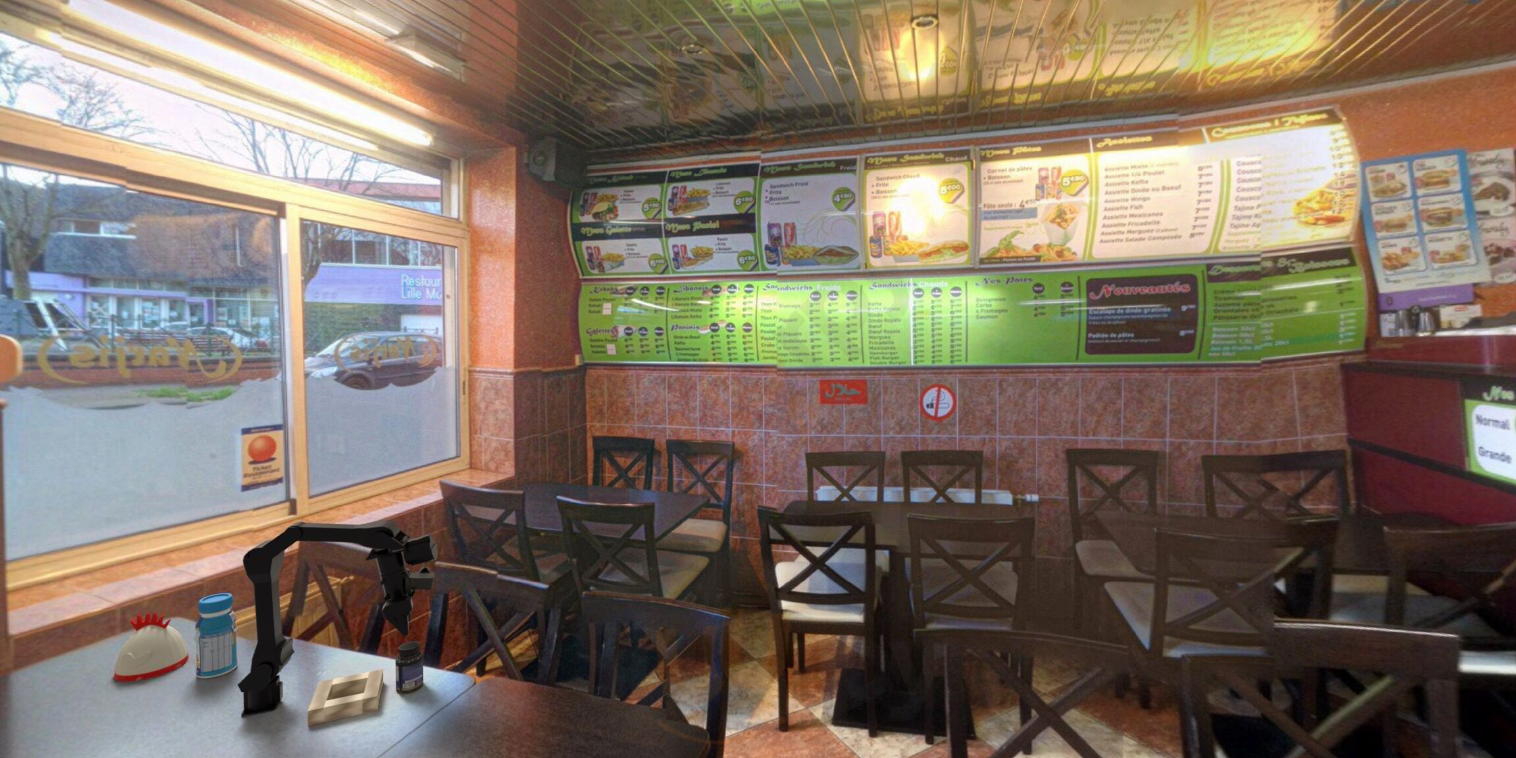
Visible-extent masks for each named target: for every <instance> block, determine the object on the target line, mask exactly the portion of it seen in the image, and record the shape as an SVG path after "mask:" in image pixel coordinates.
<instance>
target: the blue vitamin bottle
mask: <svg viewBox="0 0 1516 758" xmlns="http://www.w3.org/2000/svg"><path fill="white" fill-rule="evenodd" d="M233 605H234V596H233V594H232V593H229V592H228V593H227V592H225V593H224V592H223V593H222V592H221V593H216V594H211V595H208V596H205V597H202V598H201V599H199V601H198V614H199V615H200V617H199V618H198V619H197V621H196V623H195V627H194V629H195V631H196V632H195V634H194V641H195V650H196V653H195V654H196V657H195V658H196V668H195V676H196V677H197V678H199V679H211V678H218V677H221V676H224V675H226V674H229V673H230V672H232V671H234V670H235V669H237V666H238V656H237V655H238V654H237V653H238V652H237V651H238V650H237V649H238V648H237V646H238V645H237V635H238V634H237V632H238V624H237V623H236V622H237V620H238V619H237V615H236V613H235V612H234V611H233V609H232V608H233Z"/></svg>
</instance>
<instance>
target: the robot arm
mask: <svg viewBox="0 0 1516 758" xmlns="http://www.w3.org/2000/svg"><path fill="white" fill-rule="evenodd" d="M296 542H310V543H311V542H313V543H315V542H316V543H317V542H319V543H321V542H322V543H351V544H357V545H359V546H361V547H364V548H369V549H370V552H369V554H368V555H367V557H365V560H366V561H371V560H375V561H376V564H377V568H378V572H379V577H380V581H379V582H380V586H382V589H383V591H384V595H383V599H384V601H385V603H384V604H383V606H382V609H381V615H382V618H383V619H384V620H385V621H387V622H388V623H390V624H391V626H393V627H394V628H395V629H396V630H397V631H398V632H399V633H400V634H401V635H402V636H403V637H406V636H408V635H409V629H410V628H409V622H411V620H412V612H413V609H414V602H413V597H414V595H415V594H416V591H417V590H419V591H420V590H424V591H432V590H433V587H434V582H435V575H436V574H435V572H434V571H431V569H430V568H429V566H422V567H421V568H420V570H419V571H416V572H410V569H409V568H408V567H407V566H409V565H410V566H417V565H421V564H424V563H429V562H432V561H436V560H437V559H438V557H439V556H438V555H439V551H438V545H437V543H436V542H435V539H434V538H433V537H432V534H431V533H427V534H423V535H422V536H419V537H415V538H412V536H410V535H409V534H407V533H406V532H404V531H403V530H402V529H400V527H399V525H398V523H396V521H394V520H387V519H386V520H378V521H372V522H371V521H370V522H367V523H359V524H352V523H350V524H349V523H345V524H344V523H328V522H327V523H323V522H322V523H321V522H305V521H297V522H295V523H293V524H291V525H290V526H288V527H287V528H286V529H285V530H284V531H282V532H281V533H280V534H278V535H277V536H276V537H274V538H273V539H269V540H265V541H262V542H261V543H259V544H257V545H256V546H254V547H253V548H252V549H250V550H248V551H247V552H246V553H245V554H244V556H243V558H242V566H243V569H244V570H245V574H246V577H247V578H248V579H249V580H250V582H251V583H252V584H253V594H254V595H253V596H254V598H253V599H254V611H255V625H256V641H257V642H256V645H255V649H254V652H253V655H252V658H251V661H250V662H251V664H250V670H249V671H250V672H249V673H247V675H246V676H245V677H244V678H243V679H242V680H241V681H240V682H239V683H238V684H237V687H238V688H239V691H240V693H242V694H243V697H242V698H243V710H242V712H241V714H240V716H241V717H246V716H251V715H255V714H261V713H262V714H263V713H266V712H270V711H274V710H276V709H277V707H278V706H279V704H281V702H282V700H283V698H284V689H283V688H284V686H283V685H284V684H283V683H284V682H283V681H282V680H280V679H281V675H278V674H279V673H281V672H282V670H283V669H284V668H285V667H286V665H287V664H288V663H289V662H290V661H291V658H292V656H293V655H294V654H295V650H294V645H293V643H294V638H293V637H289V638H286V637H285V636H284V634H283V630H282V629H283V628H282V615H281V601H280V600H281V599H280V598H281V597H280V587H279V585H280V584H279V576H280V573H281V570H282V566H283V565H284V560H285V551H286V550H287V549H288V548H289V547H291V546H292V545H294V544H296ZM406 564H407V566H406Z"/></svg>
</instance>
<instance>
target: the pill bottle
mask: <svg viewBox="0 0 1516 758" xmlns="http://www.w3.org/2000/svg"><path fill="white" fill-rule="evenodd" d="M420 646H421V643H420V642H419V641H415V640H414V641H413V640H412V641H408V642H405V643H404V642H403V644H401V645H399V647H398V652H397V653H398V654H399V655H397V656H396V658H395V690H396V692H397V693H400V694H408V693H409V694H410V693H413V692H415V691H418V690H419V689H421V687H422V686H424V653H423V652H422V651H421V650H420V649H421V647H420Z"/></svg>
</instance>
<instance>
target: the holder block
mask: <svg viewBox="0 0 1516 758" xmlns="http://www.w3.org/2000/svg"><path fill="white" fill-rule="evenodd" d="M383 684H384V669H383V668H382V669H377V670H371V671H366V672H361V673H356V674H351V675H346V676H342V677H341V676H340V677H337V678H331V679H326V680H321V681H320V680H319V681H318V683H317V686H316V689H315V691H314V694H313V697H312V698H311V702H310V704H309V707H308V709H307V726H308V727H310V726H314V725H320V724H323V723H326V722H327V723H328V722H332V721H336V720H340V719H345V718H349V717H354V716H358V715H362V714H367V713H372V712H377V711H379V710H378V709H379V705H380V700H381V694H382V690H383V686H384V685H383Z"/></svg>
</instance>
